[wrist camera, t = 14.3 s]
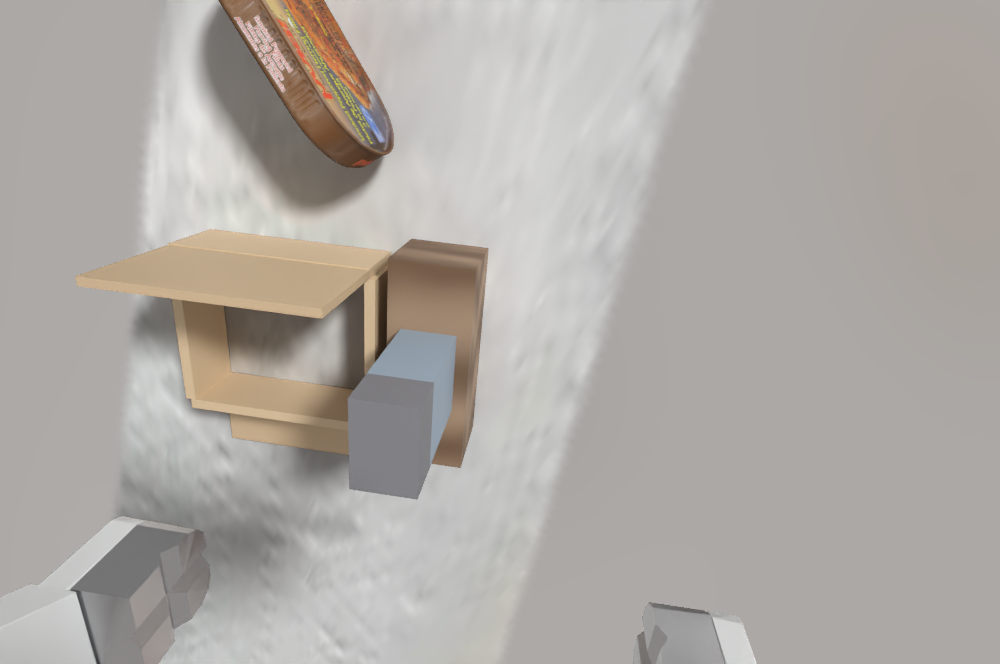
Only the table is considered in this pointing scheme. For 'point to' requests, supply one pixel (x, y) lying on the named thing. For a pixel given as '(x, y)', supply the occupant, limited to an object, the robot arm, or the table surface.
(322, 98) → the tin
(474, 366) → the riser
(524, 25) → the table surface
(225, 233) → the light wooden open box
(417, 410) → the blue-grey rectangular block
